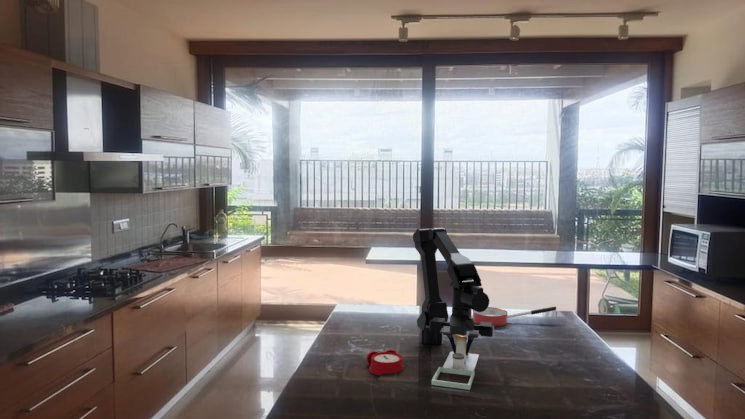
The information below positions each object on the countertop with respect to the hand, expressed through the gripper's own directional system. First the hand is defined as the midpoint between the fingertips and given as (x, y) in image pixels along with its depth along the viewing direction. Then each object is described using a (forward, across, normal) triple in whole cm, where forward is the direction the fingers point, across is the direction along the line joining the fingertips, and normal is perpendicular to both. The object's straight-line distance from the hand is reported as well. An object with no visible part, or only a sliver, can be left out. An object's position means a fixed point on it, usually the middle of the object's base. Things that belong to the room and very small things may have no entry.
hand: (461, 354), depth 155 cm
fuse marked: (+2, 0, 0) cm, 2 cm away
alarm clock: (+4, -21, -9) cm, 23 cm away
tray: (+3, 0, -14) cm, 14 cm away
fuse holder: (+3, 0, 0) cm, 3 cm away
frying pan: (+4, +13, +53) cm, 55 cm away
